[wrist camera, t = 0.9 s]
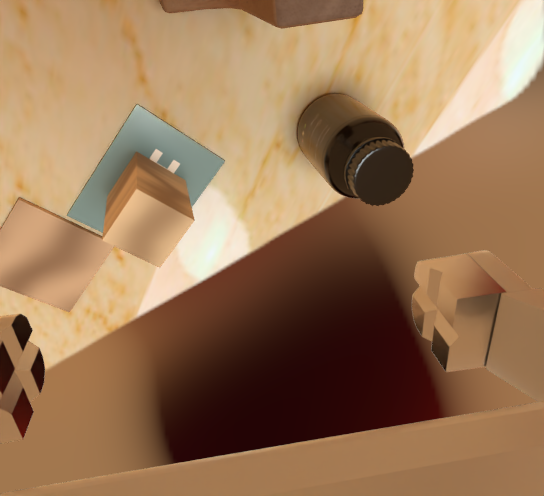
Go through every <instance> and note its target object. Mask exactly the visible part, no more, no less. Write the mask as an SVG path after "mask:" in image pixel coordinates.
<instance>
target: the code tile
mask: <svg viewBox="0 0 544 496" xmlns="http://www.w3.org/2000/svg"><path fill="white" fill-rule="evenodd" d="M136 151H137V152H138V153H140V154H142V155H143V156H145V157H147V158H149V159H150V160H152V161H154V162H155V163H157V164H159V165H160V166H162V167H164V168H165V169H167V170H169V171H171V172H172V173H174V174H176V175H177V176H179V177H181V178H182V179H184V180H186V185H187V189H188V194H189V198H190V203H191V207H192V206H193V205H194V204H195V202H196V201H197V199H198V198H199V197H200V195H201V194H202V192H203V191H204V190H205V188H206V187H207V186H208V184H209V183H210V181H211V180H212V179H213V177H214V176H215V174H216V173H217V172H218V170H219V169H220V168H221V166H222V165H223V163H224V162H225V160H223V159H222V158H220V157H219V156H217V155H216V154H214V153H212V152H211V151H209V150H208V149H206V148H205V147H203V146H202V145H200V144H199V143H197V142H195V141H194V140H192V139H191V138H189V137H188V136H186V135H185V134H183V133H181V132H180V131H178V130H177V129H175V128H174V127H172V126H171V125H169V124H167V123H166V122H164V121H163V120H161V119H160V118H158V117H157V116H155V115H154V114H152V113H150V112H149V111H147V110H146V109H144V108H143V107H141V106H140V105H138V104H136V106H135V108H134V109H133V111H132V112H131V114H130V115H129V117H128V119H127V120H126V122H125V123H124V125H123V127H122V128H121V130H120V131H119V133H118V135H117V136H116V138H115V139H114V141H113V142H112V144H111V146H110V147H109V149H108V150H107V152H106V154H105V155H104V157H103V158H102V160H101V162H100V163H99V165H98V166H97V168H96V169H95V171H94V173H93V174H92V176H91V177H90V179H89V181H88V182H87V184H86V185H85V187H84V189H83V190H82V192H81V193H80V195H79V196H78V198H77V200H76V201H75V203H74V204H73V206H72V208H71V209H70V211H69V212H68V214H67V216H69V217H71V218H73V219H75V220H77V221H79V222H81V223H83V224H85V225H88V226H90V227H92V228H94V229H96V230H98V231H100V232H102V233H103V228H104V220H105V211H106V203H107V196H108V194H109V193H110V191H111V190H112V188H113V187H114V185H115V184H116V182H117V181H118V179H119V177H120V176H121V174H122V173H123V171H124V170H125V168H126V167H127V165H128V164H129V162H130V161H131V159H132V158H133V156H134V154H135V153H136Z"/></svg>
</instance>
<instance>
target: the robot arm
mask: <svg viewBox="0 0 544 496" xmlns="http://www.w3.org/2000/svg"><path fill="white" fill-rule="evenodd" d="M414 278H415V280H416V281H417V282H418V284H419V285H420V286H419V288H418V289H417V290H416V291H415V293H414V294H413V295H412V313H413V319H414V322H415V324H416V327H417V329H418V331H419V332H420V334H421V336H422V337H424V338H426V339H428V340H430V341H432V349H431V351H432V352H433V354H434V355H435V357H436V358H437V360H438V361H439V363H440V364H441V366H442V367H443V369H444V370H445V371H446V372H451V371H458V370H466V369H473V368H481V367H486V369H487V370H488V371H490V372H491V373H493V374H495V375H496V376H498V377H500V378H501V379H503V380H504V381H506V382H507V383H509V384H511V385H512V386H514V387H516V388H517V389H519V390H520V391H522V392H523V393H525V394H527V395H528V396H530V397H531V398H533V399H535V400H536V401H538V402H535V403H530V404H524V405H518V406H512V407H506V408H501V409H495V410H489V411H483V412H477V413H471V414H465V415H460V416H453V417H447V418H441V419H435V420H430V421H424V422H417V423H411V424H405V425H400V426H394V427H388V428H382V429H376V430H370V431H364V432H358V433H352V434H346V435H340V436H334V437H328V438H322V439H316V440H310V441H305V442H299V443H293V444H287V445H281V446H275V447H270V448H264V449H258V450H252V451H246V452H240V453H235V454H228V455H223V456H217V457H211V458H205V459H199V460H194V461H188V462H182V463H176V464H170V465H165V466H158V467H152V468H146V469H141V470H135V471H129V472H123V473H117V474H111V475H105V476H100V477H93V478H87V479H81V480H75V481H69V482H63V483H57V484H52V485H46V486H41V487H34V488H28V489H22V490H16V491H10V492H5V493H0V496H544V289H542V288H537V289H533V288H531V287H530V286H529V285H528V284H527V283H526V282H525V281H523V280H522V279H521V278H520V277H519V276H518V275H516V274H515V273H514V272H513V271H512V270H511V269H510V268H509V267H507V266H506V265H505V264H504V263H503V262H502V261H501V260H499V259H498V258H497V257H496V256H495V255H494V254H492V253H491V252H489V251H486V250H482V251H477V252H471V253H465V254H461V255H454V256H448V257H441V258H435V259H429V260H422V261H418V262H417V265H416V268H415V275H414ZM32 331H33V330H32V328H31V326H30V324H29V321H28V319H27V317H25V316H24V315H22V314H15V315H6V316H0V444H2V443H7V442H12V441H18V440H23V438H24V436H25V433H26V431H27V428H28V425H29V422H30V420H31V417H32V415H33V412H34V411H33V409H32V407H31V404H30V403H31V401H33V400H34V399H35V398H36V397H37V396H39V395H40V393H41V390H42V387H43V384H44V375H45V366H44V360H43V356H42V354H41V351H40V348H39V347H37V346H36V345H34V344H33V343H31V342H30V341H28V340H29V338H30V335H31V333H32Z"/></svg>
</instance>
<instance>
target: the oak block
mask: <svg viewBox="0 0 544 496" xmlns="http://www.w3.org/2000/svg"><path fill="white" fill-rule="evenodd" d="M193 222H194V216H193V212H192V207H191V203H190V198H189V194H188V189H187V185H186V180H184V179H182V178H181V177H179V176H177V175H176V174H174V173H172V172H171V171H169V170H167V169H165V168H164V167H162V166H160V165H159V164H157V163H155V162H154V161H152V160H150V159H149V158H147V157H145V156H143V155H142V154H140V153H138V152H137V151H136V153H135V154H134V156H133V158H132V159H131V161H130V162H129V164H128V165H127V167H126V168H125V170H124V171H123V173H122V174H121V176H120V177H119V179H118V181H117V182H116V184H115V185H114V187H113V188H112V190H111V191H110V193H109V194H108V196H107V203H106V211H105V220H104V228H103V237H102V241H104V242H107V243H109V244H111V245H113V246H115V247H117V248H119V249H121V250H124V251H126V252H128V253H130V254H132V255H134V256H136V257H138V258H140V259H143V260H145V261H147V262H149V263H151V264H153V265H155V266H157V267H161V265H162V264H163V263H164V261H165V260H166V259H167V257H168V256H169V255H170V253H171V252H172V250H173V249H174V248H175V246H176V245H177V244H178V242H179V241H180V240H181V238H182V237H183V235H184V234H185V233H186V231H187V230H188V229H189V227H190V226H191V225H192V223H193Z"/></svg>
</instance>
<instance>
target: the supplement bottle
mask: <svg viewBox="0 0 544 496" xmlns="http://www.w3.org/2000/svg"><path fill="white" fill-rule="evenodd" d="M297 134H298V142H299V146H300V148H301V150H302V152H303V153H304V155H305V156H306V157H307V159H308V160H309V161H310V162H311V164H312V165H313V166H314V167H315V168H316V170H317V171H318V172H319V173H320V174H321V176H322V177H323V178H324V179H325V180H326V182H327V183H328V184H329V185H330V186H331V187H332V188H333V189H334V190H335V191H336V192H338V193H339V194H341V195H343V196H346V197H349V198H357V199H360V200H361V201H363V202H365V203H366V204H370V205H377V206H379V205H384V204H386V203H387V204H388V203H390V202H391V201H394V200H395V199H396V198H399V197H400V196H401V194H403V193H404V192H405V190H406V189H407V188H408V186H409V184H410V182H411V178H412V177H413V174H412V173H413V163H412V159H411V158H410V155H409V154H408V153H407V152H406V150H405V149H404V143H403V139H402V137H401V134H400V133H399V131H398V130H397V128H396V127H395V126H394V125H393V124H392V123H390V122H389V121H388V120H386V119H385V118H383V117H382V116H380V115H379V114H377V113H376V112H374V111H372V110H371V109H369V108H368V107H366V106H365V105H363V104H362V103H360V102H359V101H357V100H355V99H353V98H352V97H350V96H347V95H344V94H329V95H325V96H323V97H320V98H319V99H317V100H315V101H314V102H313V103H312V104H310V105H309V106H308V108H307V109H306V110H305V112H304V113H303V115H302V117H301V119H300V122H299V125H298V133H297Z"/></svg>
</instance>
